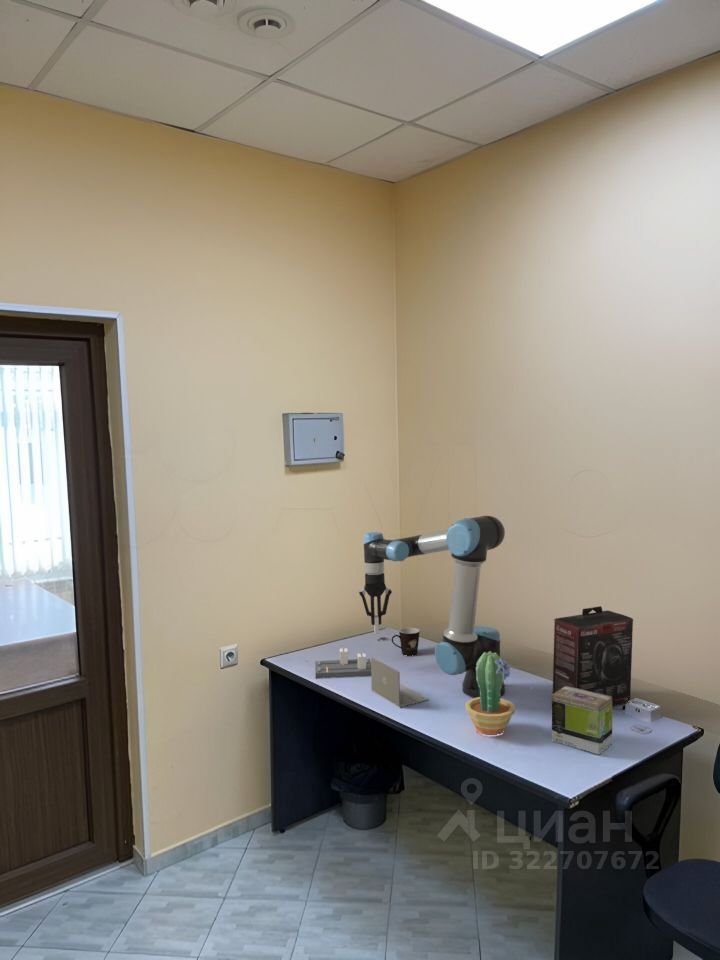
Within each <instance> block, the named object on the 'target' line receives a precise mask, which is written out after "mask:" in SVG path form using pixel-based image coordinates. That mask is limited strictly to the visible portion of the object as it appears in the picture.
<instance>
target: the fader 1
mask: <svg viewBox="0 0 720 960" xmlns="http://www.w3.org/2000/svg"><path fill="white" fill-rule="evenodd" d="M348 653H349V652H348V648H347V647H346V648H343V647H342V648H339V660H340V664H348V660H349V658H348V657H349V656H348V655H349V654H348Z"/></svg>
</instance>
